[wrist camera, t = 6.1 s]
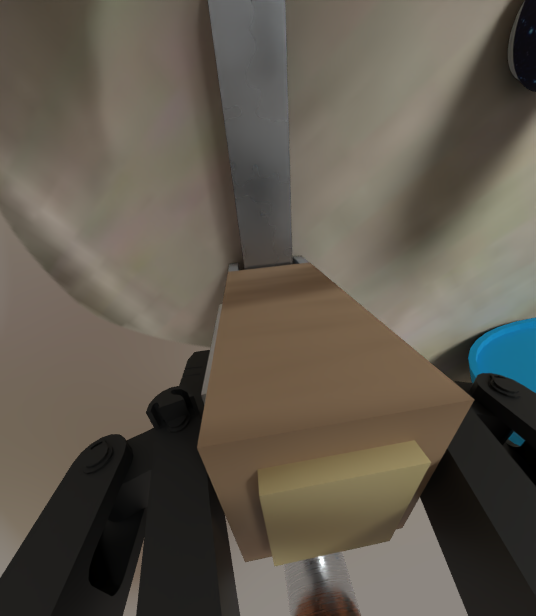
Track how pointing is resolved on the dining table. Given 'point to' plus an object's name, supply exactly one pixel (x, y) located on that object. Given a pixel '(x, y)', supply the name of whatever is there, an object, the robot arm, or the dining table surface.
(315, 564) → the gauge plunger
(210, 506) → the robot arm
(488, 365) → the alarm clock
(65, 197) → the dining table surface
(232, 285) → the carriage
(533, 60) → the beverage can
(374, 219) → the dining table surface
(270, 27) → the rail
